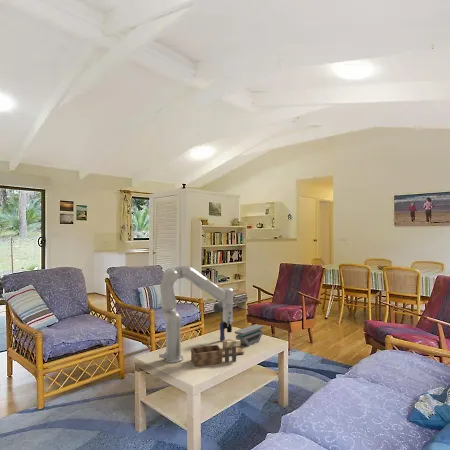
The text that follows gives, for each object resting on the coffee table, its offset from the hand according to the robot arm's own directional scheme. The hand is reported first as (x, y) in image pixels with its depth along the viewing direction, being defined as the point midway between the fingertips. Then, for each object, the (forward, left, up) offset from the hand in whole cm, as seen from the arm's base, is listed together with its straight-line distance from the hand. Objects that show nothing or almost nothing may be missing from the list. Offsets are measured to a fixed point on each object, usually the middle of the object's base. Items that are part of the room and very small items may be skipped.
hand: (227, 330), depth 239 cm
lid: (+1, -2, -16) cm, 16 cm away
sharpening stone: (+22, +13, -16) cm, 29 cm away
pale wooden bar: (-2, -17, -6) cm, 18 cm away
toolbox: (-13, -12, -15) cm, 24 cm away
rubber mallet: (+4, +25, -15) cm, 29 cm away
